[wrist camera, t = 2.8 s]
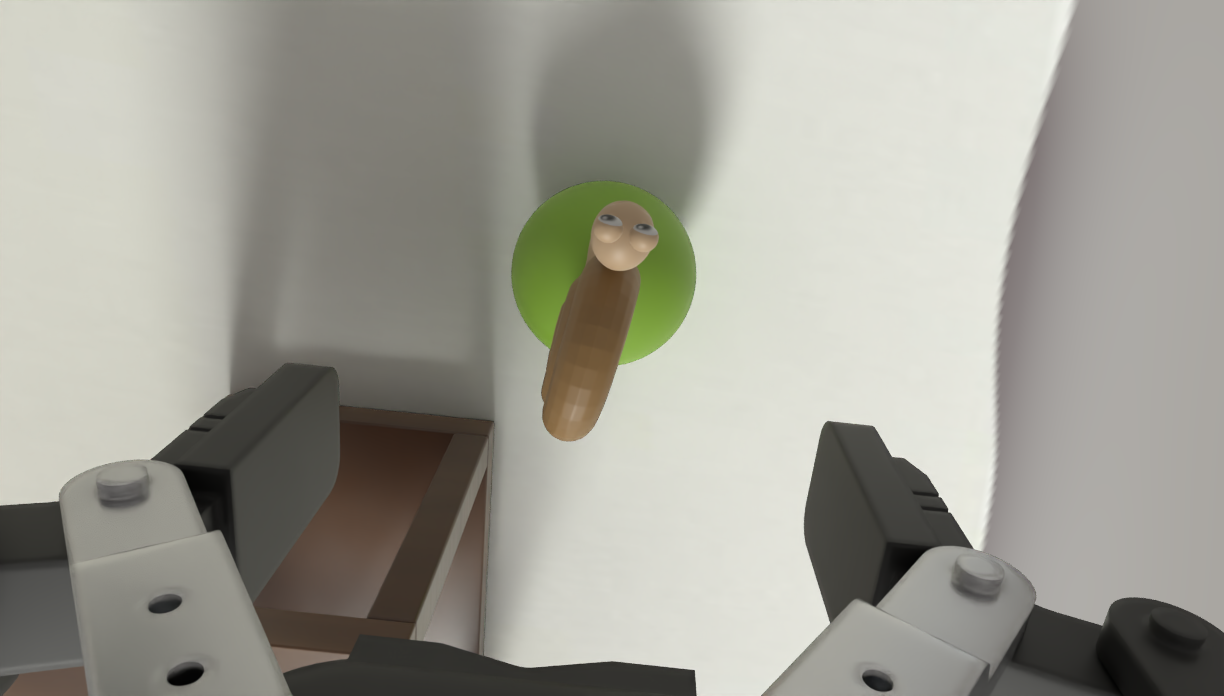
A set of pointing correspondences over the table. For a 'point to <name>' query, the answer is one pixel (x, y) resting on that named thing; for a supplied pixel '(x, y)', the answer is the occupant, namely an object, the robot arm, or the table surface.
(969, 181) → the table surface
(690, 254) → the snail figurine
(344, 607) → the box
